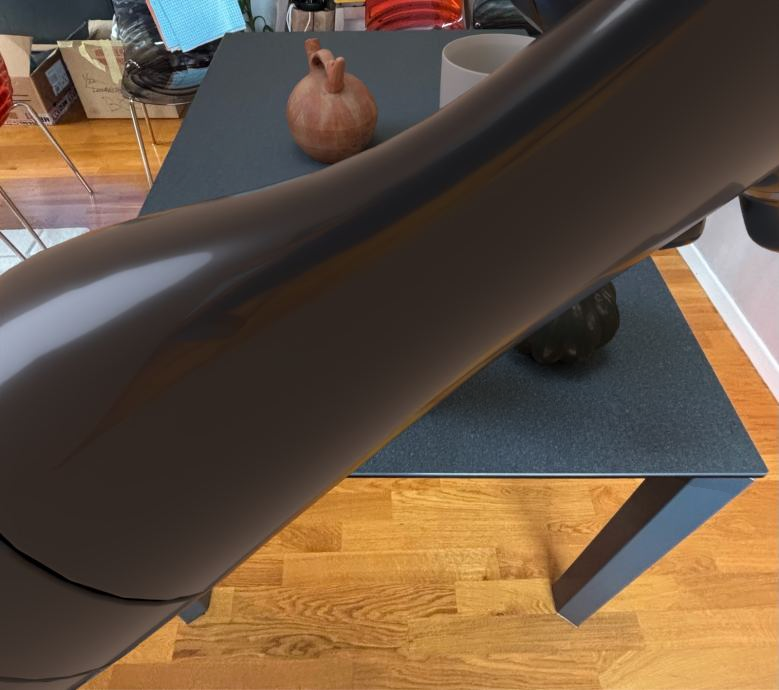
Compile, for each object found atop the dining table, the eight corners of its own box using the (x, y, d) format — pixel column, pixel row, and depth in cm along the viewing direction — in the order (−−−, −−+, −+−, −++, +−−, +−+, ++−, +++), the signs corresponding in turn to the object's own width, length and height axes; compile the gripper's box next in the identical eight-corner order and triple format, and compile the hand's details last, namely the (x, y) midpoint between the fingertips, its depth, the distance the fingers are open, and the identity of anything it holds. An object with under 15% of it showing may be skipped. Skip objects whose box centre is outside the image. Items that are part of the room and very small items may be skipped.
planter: (450, 205, 93) (462, 81, 78) (423, 152, 107) (429, 37, 91) (556, 193, 96) (588, 70, 80) (516, 143, 110) (537, 29, 94)
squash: (606, 267, 72) (558, 205, 63) (657, 347, 63) (608, 288, 53) (520, 321, 79) (465, 272, 69) (554, 401, 69) (495, 357, 60)
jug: (393, 160, 105) (393, 52, 90) (309, 180, 100) (295, 69, 85) (358, 124, 116) (353, 24, 102) (281, 140, 111) (264, 37, 96)
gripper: (548, 137, 44) (382, 183, 51) (541, 246, 36) (343, 282, 43) (565, 207, 49) (411, 240, 56) (562, 318, 41) (381, 339, 48)
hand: (382, 258), depth 50 cm, fingers open, 8 cm apart
